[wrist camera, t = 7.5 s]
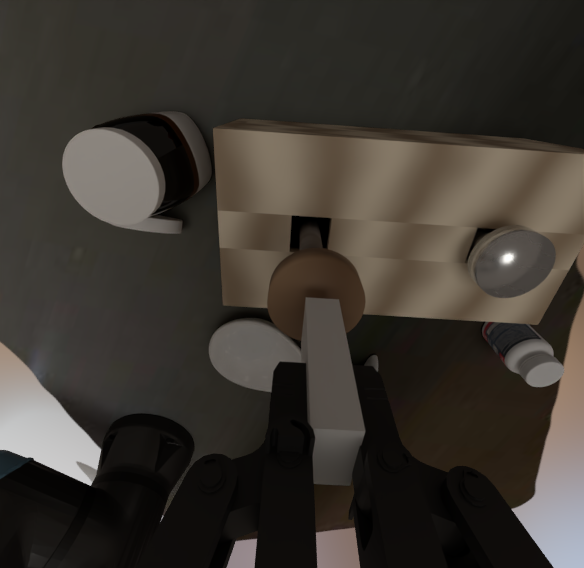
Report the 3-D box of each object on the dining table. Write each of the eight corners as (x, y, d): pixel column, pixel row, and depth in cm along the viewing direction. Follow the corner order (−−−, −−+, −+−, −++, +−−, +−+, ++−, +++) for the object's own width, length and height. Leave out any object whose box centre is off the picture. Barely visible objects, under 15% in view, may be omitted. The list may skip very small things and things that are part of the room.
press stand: (243, 249, 38) (222, 305, 28) (241, 118, 31) (212, 128, 21) (473, 264, 39) (537, 324, 28) (522, 138, 32) (632, 157, 21)
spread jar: (197, 99, 30) (147, 100, 20) (238, 211, 36) (215, 255, 26) (88, 136, 32) (-7, 153, 22) (143, 237, 38) (87, 287, 28)
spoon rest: (209, 360, 48) (196, 399, 42) (219, 296, 42) (206, 330, 36) (358, 389, 50) (366, 430, 44) (387, 332, 45) (401, 370, 38)
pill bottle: (472, 330, 44) (509, 380, 36) (503, 304, 42) (549, 350, 34) (499, 346, 45) (540, 397, 37) (530, 321, 43) (580, 369, 35)
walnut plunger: (278, 243, 29) (265, 339, 17) (281, 187, 27) (268, 257, 15) (333, 246, 29) (356, 345, 18) (340, 191, 27) (374, 264, 15)
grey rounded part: (410, 229, 35) (467, 295, 23) (422, 182, 32) (493, 230, 20) (455, 232, 35) (535, 300, 23) (471, 185, 32) (570, 235, 21)
